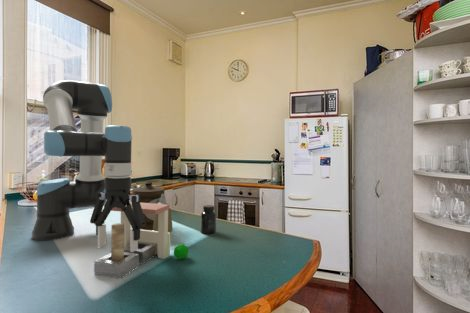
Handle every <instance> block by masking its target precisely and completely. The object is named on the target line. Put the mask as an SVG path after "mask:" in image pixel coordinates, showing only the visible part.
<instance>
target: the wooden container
mask: <svg viewBox="0 0 470 313" xmlns="http://www.w3.org/2000/svg"><path fill="white" fill-rule="evenodd" d="M162 194H165V188H164V187H161V186H160V187H159V186H153V181H152V180H146V181H145V182H144V186H141V187H135V188H133V189H132V191H131V195H140V202H141V203H153V204H157V203H159V202H160V200H161V196H162ZM143 215H144V218H145V222H146V226H145V227H143V228H141V229H142V230H151V231H152V230H153V223H154V215H153V214H143ZM131 228H132V226H131Z"/></svg>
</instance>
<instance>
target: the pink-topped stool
mask: <svg viewBox="0 0 470 313" xmlns="http://www.w3.org/2000/svg"><path fill="white" fill-rule="evenodd" d="M129 202H130V201H129ZM130 204H131V206H132V202H130ZM140 204H141V208H142V211H143V214H153V215H156V214H158V231H151V230H142V229H140V239H139V240H138V241H141V242H149V243H157V254H158V255H157V258H158V259H164V260H165V258H166V259H167V257H170V256H171V234H170V233H169V232H168V209H169V208H170V204H169V205H166V204H153V203H141V202H140ZM131 208H132V207H131ZM132 210H133V208H132ZM111 211H112V212H120V224H124V246H125V245H127V244H129V243H130V230H132V229H133V228H131V224H130V223H129V221H128V219H127V217H126V215H125V213H124V211H122V210H121V208H117V207H114V208H112V210H111ZM111 211H110V212H111ZM133 212H134V211H133Z"/></svg>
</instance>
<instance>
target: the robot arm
mask: <svg viewBox="0 0 470 313" xmlns="http://www.w3.org/2000/svg"><path fill="white" fill-rule="evenodd" d="M42 101H43V105H44V107H45V108H46V109H47V117H48V124H49V126H48V127H49V130H47V131H45V132H44V133H43V151H44V154H45V156H48V157H49V156H51V157H60V158H61V157H79V173H78V174H77V175H76V176H75V178H74V179H75V180H73V181H71V180H70V178H67V177H65V178H63V177H62V178H55V179H49V180H45V181H41V182H40V183H38V184H37V186H36V194H35V195H36V219H35V223H34V224H33V225H34V226H33V229H32V230H31V239H32V240H35V241H53V240H60V239H63V238H68V237H70V236H72V235H74V234H75V227H74V225H73V222H72V219H71V216H70V210H71V209H80V208H81V209H82V208H93V211H92V214H91V217H90V219H89V220H90V222H89V223H90V224H94V225H95V235H96V237H97V248H99V249H100V248H102V247H105V246H106V245H107V225H106V224H105V223H106V220H107V219H108V216H109V215H110V213H111V210H112V208H114V207H117V208H121V210H122V211H124V213H125V215H126V217H127V219H128V221H129V223H130V224H131V226H132V228H133V229H132V230H130V252H134V251H136V250H137V249H138V240H139V239H140V229H141V228H143V227H145V226H146V222H145V218H144V215H143V211H142V208H141V204H140V195H132V192H131V188H132V178H131V177H130V176H131V175H132V141H133V140H132V139H133V136H132V128H131V127H130V126H128V125H114V124H113V125H106V126H105V128H104V120H106V119H107V117H108V114H109V113H111V112H112V111H113V97H112V93H111V91H110V88H109V86H107V85H104V84H100V83H97V82H96V83H94V82H93V83H92V82H87V81H86V82H85V81H78V80H71V79H67V80H65V79H64V80H63V79H62V80H59V81H57V82H54V83H52V84H51V85H49V86H48V87H47V88H46V89H45V90H44V93H43V94H42ZM73 111H76V115H77V116H78V117H79V118H80V131H78V128H77V125H76V122H75V117H74V112H73ZM103 157H104V174H102V162H103V160H102V159H103ZM130 202H132V206H131V204H130ZM131 207H132V208H133V210H132V208H131ZM133 211H134V212H133Z"/></svg>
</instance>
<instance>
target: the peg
mask: <svg viewBox="0 0 470 313" xmlns="http://www.w3.org/2000/svg"><path fill="white" fill-rule="evenodd" d="M110 233H111V235H110V236H111V237H110V239H111V243H110V244H111V250H110V253H111V260H112V261H121V260H123V259H124V224H121V223H113V224H112V225H111V232H110Z"/></svg>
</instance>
